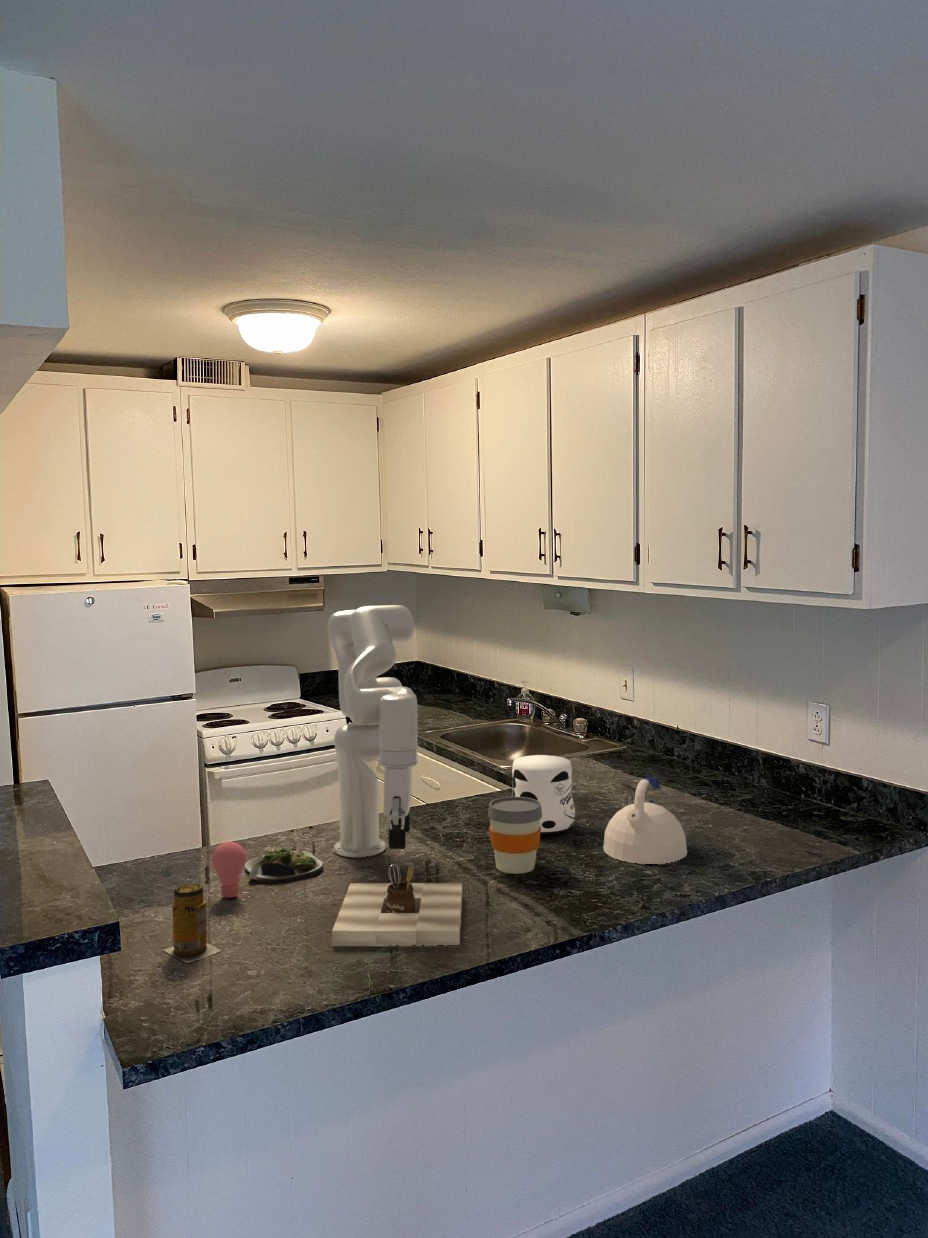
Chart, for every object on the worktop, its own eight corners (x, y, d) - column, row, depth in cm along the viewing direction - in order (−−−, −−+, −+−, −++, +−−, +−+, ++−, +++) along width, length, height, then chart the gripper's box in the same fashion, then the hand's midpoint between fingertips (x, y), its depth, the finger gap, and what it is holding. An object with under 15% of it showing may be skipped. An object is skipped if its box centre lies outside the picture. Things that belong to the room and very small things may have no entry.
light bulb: (233, 888, 203) (232, 835, 202) (254, 896, 199) (252, 841, 198) (206, 898, 198) (204, 843, 197) (226, 906, 193) (224, 850, 192)
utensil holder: (399, 911, 190) (398, 855, 189) (422, 919, 186) (421, 861, 185) (379, 921, 185) (378, 863, 184) (402, 929, 181) (401, 870, 180)
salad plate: (230, 863, 220) (230, 845, 219) (302, 850, 228) (302, 832, 228) (253, 890, 203) (253, 870, 202) (330, 875, 211) (329, 856, 211)
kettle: (590, 858, 221) (590, 784, 219) (618, 833, 239) (618, 764, 237) (674, 871, 211) (675, 794, 210) (696, 844, 230) (697, 773, 228)
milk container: (587, 834, 238) (587, 766, 236) (526, 843, 231) (526, 772, 230) (556, 816, 254) (556, 751, 252) (498, 823, 247) (498, 757, 246)
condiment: (197, 938, 178) (195, 878, 177) (221, 951, 172) (219, 889, 171) (162, 951, 173) (160, 889, 171) (186, 965, 167) (184, 901, 166)
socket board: (350, 896, 198) (350, 883, 197) (462, 896, 197) (462, 883, 197) (332, 946, 174) (332, 931, 173) (459, 946, 173) (459, 931, 173)
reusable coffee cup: (551, 863, 217) (551, 800, 216) (527, 880, 206) (527, 815, 205) (504, 854, 223) (503, 793, 222) (478, 870, 213) (478, 807, 211)
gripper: (384, 745, 191) (385, 825, 193) (374, 768, 174) (375, 855, 176) (420, 745, 191) (421, 825, 193) (414, 768, 174) (415, 855, 176)
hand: (399, 839), depth 184 cm, fingers open, 9 cm apart
